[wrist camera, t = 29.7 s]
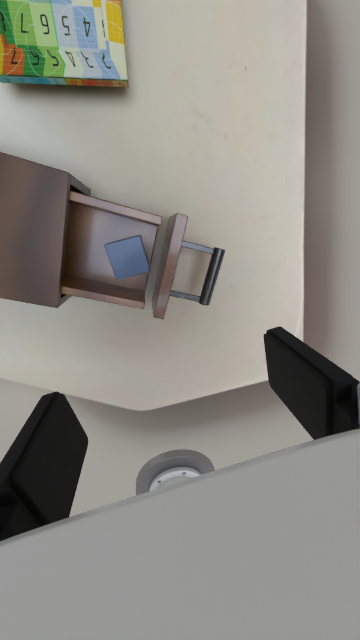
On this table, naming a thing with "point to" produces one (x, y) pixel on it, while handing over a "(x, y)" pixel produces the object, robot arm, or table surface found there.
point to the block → (127, 257)
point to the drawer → (117, 224)
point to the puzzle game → (62, 42)
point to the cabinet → (33, 230)
